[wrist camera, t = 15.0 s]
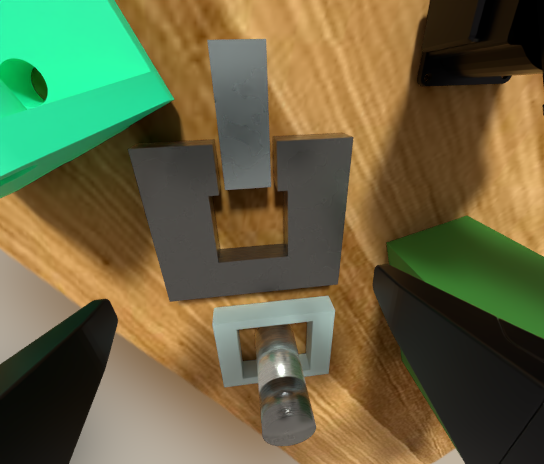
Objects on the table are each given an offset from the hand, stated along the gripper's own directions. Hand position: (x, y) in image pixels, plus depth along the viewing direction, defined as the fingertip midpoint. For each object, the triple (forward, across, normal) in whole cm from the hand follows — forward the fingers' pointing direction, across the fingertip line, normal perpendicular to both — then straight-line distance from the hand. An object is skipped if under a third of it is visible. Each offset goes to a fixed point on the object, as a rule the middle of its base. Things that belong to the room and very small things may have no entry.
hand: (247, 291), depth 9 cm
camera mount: (+13, +10, -7) cm, 18 cm away
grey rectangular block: (+12, 0, -4) cm, 13 cm away
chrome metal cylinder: (+12, -1, +16) cm, 20 cm away
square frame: (+12, -1, +16) cm, 21 cm away
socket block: (+12, 0, +3) cm, 13 cm away
